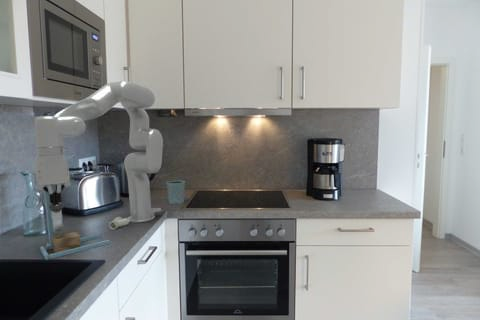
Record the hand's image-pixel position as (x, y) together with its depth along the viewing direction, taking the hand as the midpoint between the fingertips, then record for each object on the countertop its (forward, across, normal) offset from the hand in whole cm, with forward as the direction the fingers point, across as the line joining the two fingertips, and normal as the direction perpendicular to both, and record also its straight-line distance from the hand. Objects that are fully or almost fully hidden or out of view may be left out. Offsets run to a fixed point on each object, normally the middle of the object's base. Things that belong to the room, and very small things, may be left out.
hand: (55, 204), depth 112 cm
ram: (+10, 0, 0) cm, 10 cm away
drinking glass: (+17, -65, -34) cm, 76 cm away
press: (+17, -5, -2) cm, 18 cm away
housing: (+17, -2, -1) cm, 18 cm away
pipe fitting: (+17, -26, -13) cm, 34 cm away
